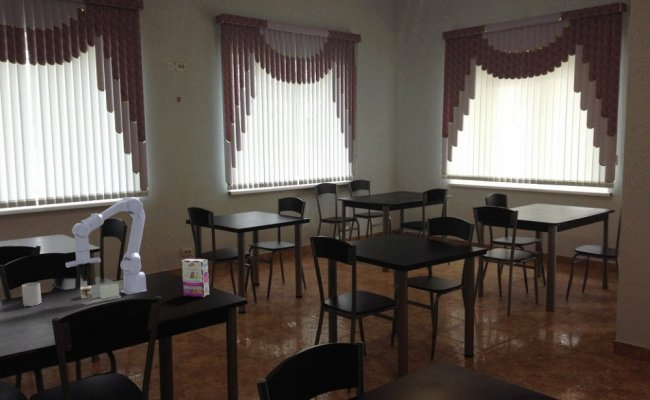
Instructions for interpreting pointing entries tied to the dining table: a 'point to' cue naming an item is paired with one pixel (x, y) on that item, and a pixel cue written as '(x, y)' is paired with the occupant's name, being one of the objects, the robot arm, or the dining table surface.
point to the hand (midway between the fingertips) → (84, 280)
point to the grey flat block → (109, 291)
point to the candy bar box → (195, 277)
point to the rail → (100, 300)
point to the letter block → (86, 292)
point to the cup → (31, 294)
